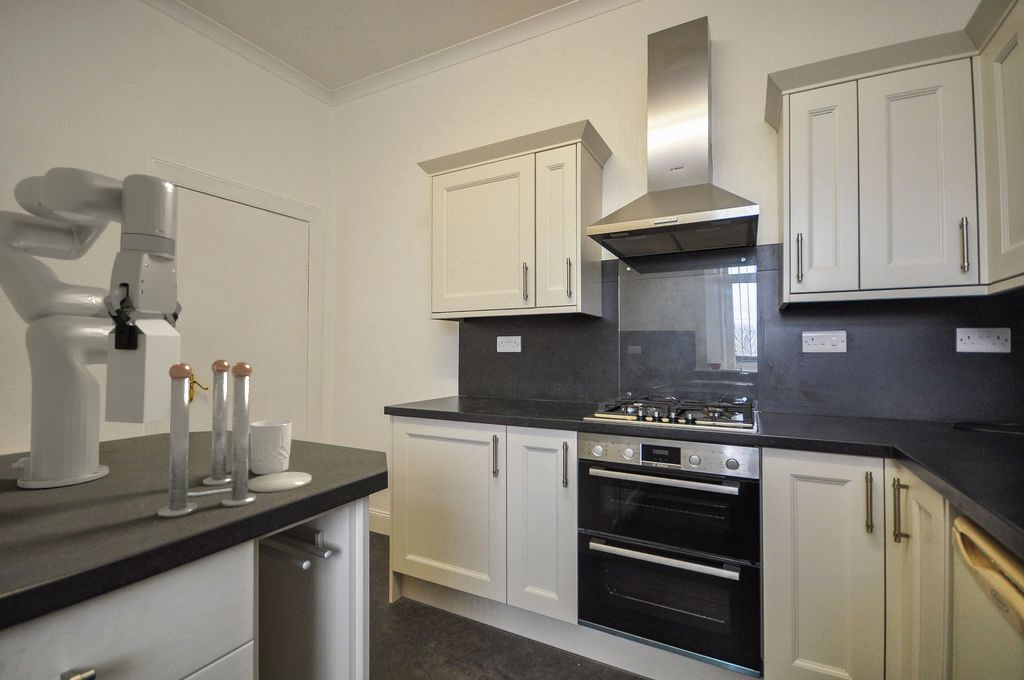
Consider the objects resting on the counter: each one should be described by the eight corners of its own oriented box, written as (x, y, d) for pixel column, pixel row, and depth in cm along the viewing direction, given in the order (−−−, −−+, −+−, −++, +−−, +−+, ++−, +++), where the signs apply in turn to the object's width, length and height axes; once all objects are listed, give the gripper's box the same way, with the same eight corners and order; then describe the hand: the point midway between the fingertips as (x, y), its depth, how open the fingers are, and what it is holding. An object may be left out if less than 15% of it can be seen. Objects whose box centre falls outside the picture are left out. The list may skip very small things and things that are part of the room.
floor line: (168, 499, 78) (168, 497, 78) (173, 494, 80) (173, 492, 80) (244, 491, 82) (244, 489, 82) (246, 487, 84) (246, 485, 84)
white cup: (262, 477, 90) (263, 427, 91) (241, 471, 95) (242, 423, 95) (299, 469, 97) (299, 422, 97) (277, 463, 101) (278, 418, 101)
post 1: (149, 518, 69) (152, 363, 69) (172, 506, 74) (175, 362, 74) (183, 517, 69) (186, 363, 70) (204, 506, 74) (206, 362, 75)
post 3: (215, 507, 74) (217, 362, 74) (232, 496, 79) (234, 361, 79) (246, 506, 74) (249, 362, 74) (261, 496, 79) (264, 361, 80)
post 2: (197, 485, 85) (199, 359, 85) (213, 477, 90) (215, 359, 90) (224, 485, 85) (226, 360, 86) (239, 477, 90) (241, 359, 90)
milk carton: (178, 417, 83) (182, 313, 83) (143, 424, 76) (147, 310, 76) (142, 415, 84) (146, 312, 84) (104, 422, 76) (108, 309, 77)
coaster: (234, 492, 81) (234, 488, 81) (264, 474, 92) (264, 471, 92) (297, 492, 82) (297, 488, 82) (320, 474, 93) (320, 471, 93)
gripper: (162, 257, 88) (159, 348, 88) (81, 236, 71) (77, 349, 71) (201, 258, 89) (198, 349, 89) (131, 238, 71) (127, 351, 71)
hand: (145, 348), depth 80 cm, fingers closed on milk carton, 7 cm apart
